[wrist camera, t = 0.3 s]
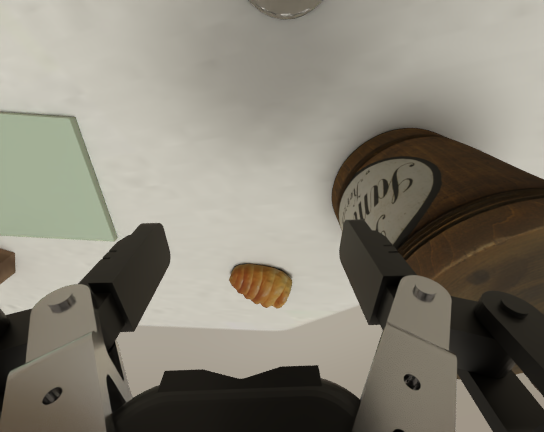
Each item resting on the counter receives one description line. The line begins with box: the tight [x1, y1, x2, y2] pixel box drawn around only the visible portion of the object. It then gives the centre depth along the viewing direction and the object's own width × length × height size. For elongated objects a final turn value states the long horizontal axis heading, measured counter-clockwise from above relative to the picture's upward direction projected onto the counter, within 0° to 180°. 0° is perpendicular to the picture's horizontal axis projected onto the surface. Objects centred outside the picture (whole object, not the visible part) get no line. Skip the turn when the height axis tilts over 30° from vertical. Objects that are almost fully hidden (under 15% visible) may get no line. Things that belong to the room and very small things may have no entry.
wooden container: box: [332, 128, 544, 390], centre depth 20 cm, size 15×15×22 cm
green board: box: [0, 112, 117, 242], centre depth 28 cm, size 16×22×1 cm
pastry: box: [229, 264, 292, 308], centre depth 36 cm, size 9×7×4 cm
